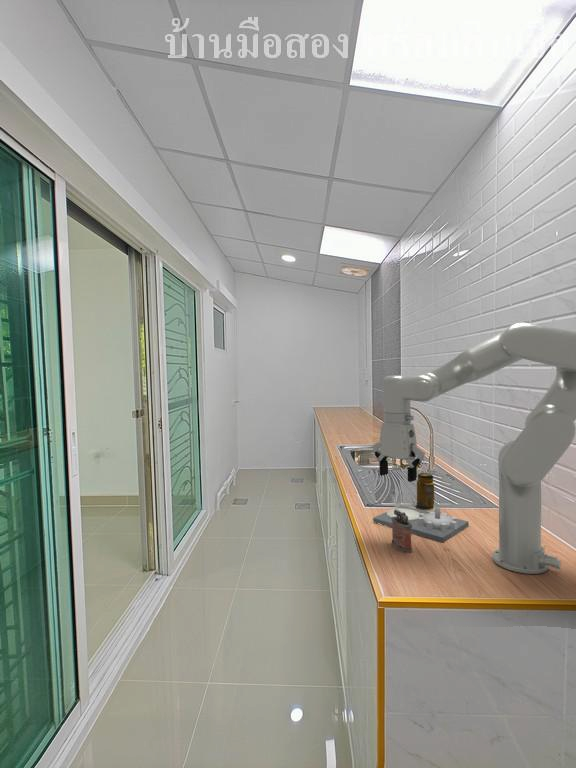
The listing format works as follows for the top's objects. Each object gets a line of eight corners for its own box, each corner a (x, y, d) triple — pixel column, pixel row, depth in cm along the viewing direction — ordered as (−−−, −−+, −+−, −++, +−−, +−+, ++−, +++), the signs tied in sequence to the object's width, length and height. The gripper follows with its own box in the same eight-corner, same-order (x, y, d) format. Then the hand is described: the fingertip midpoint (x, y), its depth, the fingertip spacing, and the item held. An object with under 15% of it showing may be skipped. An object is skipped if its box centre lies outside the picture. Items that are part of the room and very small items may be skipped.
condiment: (433, 504, 157) (433, 472, 157) (437, 511, 149) (437, 478, 149) (413, 503, 159) (413, 471, 158) (416, 510, 150) (416, 477, 150)
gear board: (468, 526, 135) (468, 506, 134) (443, 542, 122) (442, 520, 122) (401, 509, 152) (401, 491, 152) (373, 522, 139) (372, 502, 139)
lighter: (414, 552, 116) (414, 516, 116) (404, 553, 115) (403, 517, 115) (399, 541, 124) (399, 507, 123) (389, 542, 123) (388, 508, 122)
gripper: (431, 419, 116) (431, 481, 117) (381, 415, 130) (381, 470, 130) (415, 422, 112) (416, 486, 112) (364, 417, 125) (365, 474, 125)
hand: (397, 477), depth 121 cm, fingers open, 9 cm apart
